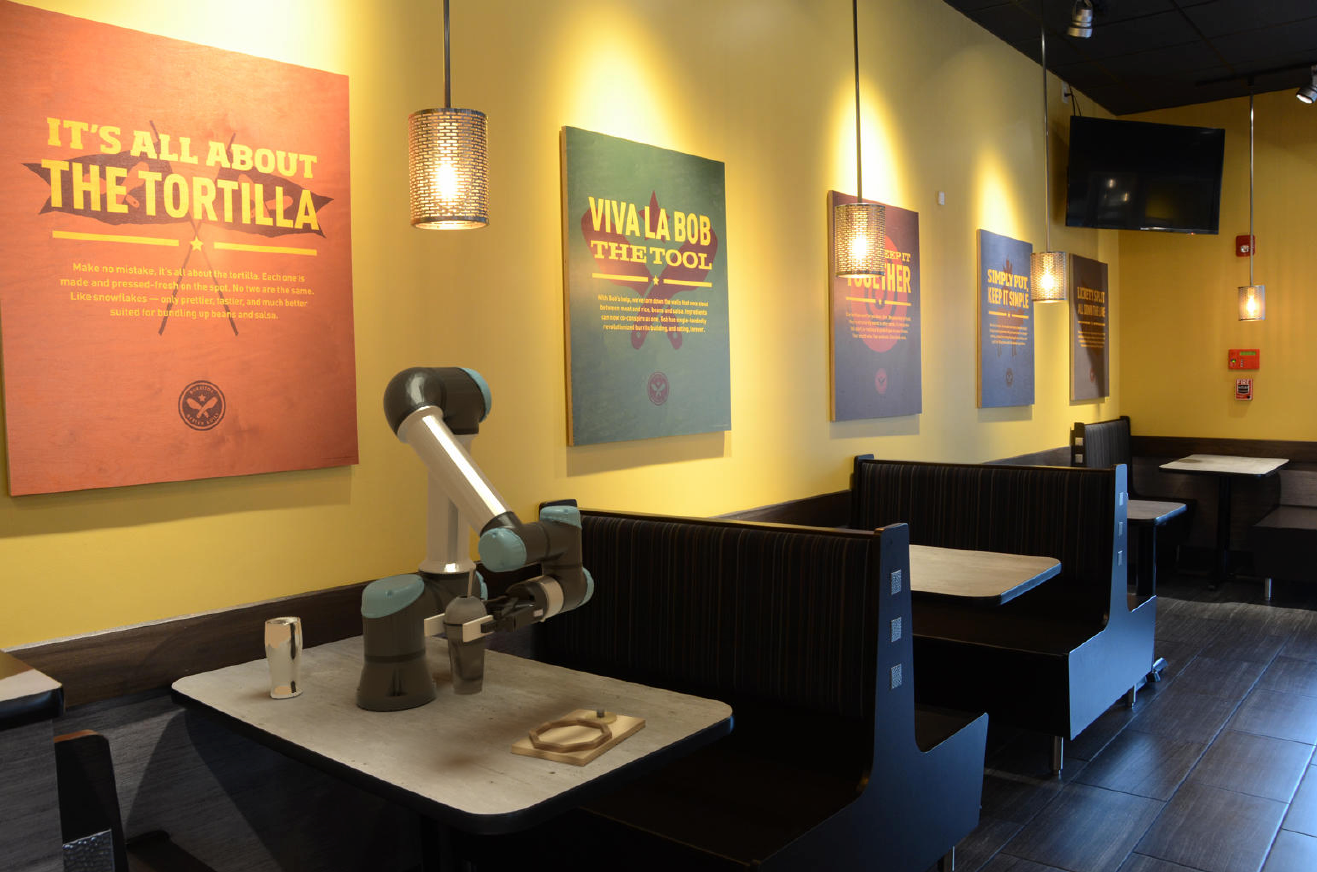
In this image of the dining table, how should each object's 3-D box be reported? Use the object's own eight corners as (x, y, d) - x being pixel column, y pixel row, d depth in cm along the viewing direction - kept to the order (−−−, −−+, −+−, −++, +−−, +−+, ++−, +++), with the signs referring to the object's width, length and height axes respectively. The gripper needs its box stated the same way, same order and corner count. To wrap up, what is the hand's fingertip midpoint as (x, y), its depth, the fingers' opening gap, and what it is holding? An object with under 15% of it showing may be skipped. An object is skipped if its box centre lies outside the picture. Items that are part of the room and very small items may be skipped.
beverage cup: (448, 684, 160) (444, 565, 159) (492, 682, 161) (489, 563, 160) (442, 698, 153) (437, 573, 152) (488, 696, 153) (484, 571, 152)
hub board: (511, 752, 159) (510, 734, 159) (578, 715, 176) (578, 698, 176) (583, 766, 152) (582, 747, 152) (645, 725, 169) (644, 709, 169)
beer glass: (259, 698, 192) (256, 623, 191) (285, 687, 198) (281, 615, 197) (287, 701, 189) (283, 625, 188) (312, 691, 196) (308, 617, 195)
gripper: (580, 627, 167) (496, 661, 147) (488, 616, 177) (398, 647, 157) (578, 584, 167) (495, 612, 147) (486, 576, 177) (396, 601, 156)
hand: (445, 630), depth 152 cm, fingers closed on beverage cup, 7 cm apart
